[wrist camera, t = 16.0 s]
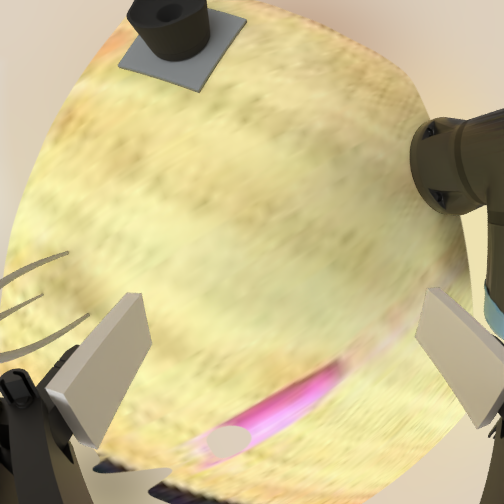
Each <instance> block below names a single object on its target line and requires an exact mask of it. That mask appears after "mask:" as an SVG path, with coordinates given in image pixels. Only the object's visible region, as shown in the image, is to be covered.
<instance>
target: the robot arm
mask: <svg viewBox="0 0 504 504" xmlns="http://www.w3.org/2000/svg"><path fill="white" fill-rule="evenodd" d="M410 165H411V171H412V175H413V179H414V182H415V184H416V187H417V189H418V191H419V193H420V194H421V196H422V197H423V199H424V200H425V201H426V202H427V204H428V205H429V206H430V207H432V208H433V209H434V210H436V211H437V212H439V213H442V214H446V215H464V214H467V213H469V212H471V211H473V210H475V209H477V208H479V207H482V206H483V205H487V213H488V256H487V257H488V258H487V274H486V279H485V284H484V289H485V301H484V315H485V319H486V321H487V323H488V324H489V326H490V328H491V329H492V330H493V331H494V333H495V334H497V335H498V336H499V337H500V338H502V339H503V340H504V109H500V110H497V111H494V112H491V113H488V114H485V115H481V116H479V117H476V118H472V119H469V120H461V119H455V118H447V117H440V118H435V119H433V120H430V121H428V122H426V123H424V124H423V125H421V126H420V127H419V129H418V130H417V131H416V133H415V135H414V137H413V140H412V143H411V149H410ZM415 338H416V340H417V341H418V342H419V344H420V345H421V346H422V348H423V349H424V350H425V352H426V353H427V355H428V356H429V357H430V359H431V360H432V362H433V363H434V364H435V366H436V367H437V369H438V370H439V372H440V373H441V374H442V376H443V377H444V379H445V380H446V382H447V383H448V385H449V386H450V388H451V389H452V391H453V392H454V394H455V395H456V397H457V398H458V400H459V401H460V403H461V405H462V406H463V408H464V409H465V411H466V412H467V414H468V416H469V417H470V419H471V420H472V422H473V424H474V425H475V427H476V429H479V428H482V427H483V426H486V425H488V424H490V423H491V421H492V420H493V419H494V417H495V416H496V414H497V413H499V414H500V416H501V418H500V419H499V420H498V422H497V423H496V425H495V426H494V427H493V429H492V430H491V431H490V433H489V435H488V437H489V438H490V437H491V435H492V434H493V433H494V432H495V431H496V434H495V436H494V437H493V439H495V441H494V447H493V453H492V458H491V463H490V467H489V472H488V476H487V480H486V484H485V488H484V491H483V495H482V498H481V501H480V504H504V344H503V343H502V342H501V341H500V340H499V339H498V338H497V337H496V336H494V335H492V334H490V333H489V332H488V331H487V330H486V329H485V328H484V327H483V326H482V325H481V324H480V323H479V322H478V321H477V320H476V319H475V318H473V317H472V316H471V315H470V314H469V313H468V312H467V311H466V310H465V309H464V308H462V307H461V306H460V305H459V304H458V303H457V302H456V301H455V300H453V299H452V298H451V297H450V296H449V295H448V294H446V293H445V292H444V291H443V290H442V289H441V288H439V287H436V288H427V291H426V295H425V300H424V304H423V308H422V312H421V316H420V320H419V324H418V327H417V331H416V334H415ZM151 345H152V340H151V336H150V331H149V327H148V322H147V318H146V313H145V308H144V303H143V298H142V293H126V294H125V295H124V296H123V297H122V299H121V300H120V301H119V302H118V303H117V304H116V305H115V306H114V307H113V308H112V309H111V311H110V312H109V313H108V314H107V315H106V316H105V317H104V318H103V319H102V321H101V322H100V323H99V324H98V325H97V326H96V327H95V329H94V330H93V331H92V332H91V333H90V334H89V335H88V337H87V338H86V339H85V340H84V341H83V342H82V344H81V345H75V346H73V347H72V348H70V349H69V350H67V351H66V352H65V353H64V354H63V355H62V357H61V358H60V359H59V361H57V362H56V364H55V365H54V367H52V368H51V369H50V371H49V372H48V373H47V374H46V375H45V377H44V378H43V379H42V380H41V381H40V383H39V384H38V385H37V386H36V387H35V385H34V383H33V381H32V379H31V378H30V376H29V374H28V372H27V371H25V370H24V369H20V368H18V369H12V370H9V371H7V372H6V373H4V374H3V375H2V376H1V377H0V392H1V393H2V395H3V396H4V398H0V504H93V501H92V499H91V496H90V494H89V492H88V489H87V486H86V484H85V481H84V479H83V476H82V473H81V470H80V467H79V464H78V461H77V458H76V455H75V452H74V449H73V446H72V444H71V442H70V441H69V440H70V438H71V436H72V435H74V436H75V437H76V439H77V440H78V442H79V443H80V444H82V445H85V446H88V447H91V448H94V449H97V450H98V448H99V446H100V444H101V442H102V440H103V437H104V435H105V433H106V431H107V429H108V427H109V425H110V423H111V421H112V419H113V417H114V415H115V413H116V411H117V409H118V407H119V406H120V404H121V402H122V400H123V398H124V396H125V394H126V392H127V390H128V388H129V386H130V384H131V382H132V381H133V379H134V377H135V375H136V373H137V371H138V369H139V367H140V366H141V364H142V362H143V360H144V358H145V356H146V354H147V353H148V351H149V349H150V347H151Z"/></svg>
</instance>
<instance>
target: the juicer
mask: <svg viewBox="0 0 504 504" xmlns="http://www.w3.org/2000/svg"><path fill="white" fill-rule="evenodd" d="M68 254H69V252H68V251H66V252H63V253H59V254H56V255H53V256H50V257H47V258H44V259H41V260H39V261H36V262H34V263H31V264H29V265H27V266H25V267H22V268H20V269H18V270H16V271H15V272H13V273H11V274H9V275H7V276H6V277H4V278H2V279H1V280H0V289H1V288H2V287H4V286H5V285H7V284H8V283H10V282H11V281H13V280H14V279H16V278H18V277H19V276H21V275H23V274H25V273H27V272H28V271H30V270H32V269H34V268H36V267H39V266H41V265H43V264H45V263H48V262H50V261H52V260H55V259H57V258H60V257H62V256H65V255H68ZM43 295H44V294H41V295H39V296H36V297H34V298H32V299H30V300H28V301H26V302H23V303H21V304H19V305H17V306H15V307H13V308H10V309H8V310H6V311H4V312H2V313H0V320H2V319H4V318H5V317H7V316H8V315H10V314H12V313H13V312H15V311H17V310H18V309H20V308H22V307H23V306H25V305H27V304H29V303H30V302H32V301H34V300H36V299H38V298H39V297H41V296H43ZM89 316H90V315H89V313H87V314H85V315H84V316H82V317H81V318H79V319H78V320H76V321H74V322H73V323H71V324H69V325H68V326H66V327H65V328H63V329H61V330H59V331H58V332H56V333H54V334H52V335H50V336H48V337H46V338H44V339H42V340H40V341H38V342H36V343H33V344H31V345H28V346H26V347H23V348H20V349H16V350H13V351H8V352H4V353H0V363H4V362H7V361H10V360H14V359H16V358H19V357H21V356H24V355H26V354H29V353H31V352H33V351H35V350H37V349H39V348H41V347H43V346H45V345H47V344H49V343H51V342H52V341H54V340H56V339H57V338H59V337H61V336H62V335H64V334H65V333H67V332H68V331H70V330H71V329H73V328H74V327H75V326H77V325H78V324H80V323H81V322H82V321H84V320H85V319H86V318H88V317H89Z"/></svg>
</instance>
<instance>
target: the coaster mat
mask: <svg viewBox="0 0 504 504" xmlns="http://www.w3.org/2000/svg"><path fill="white" fill-rule="evenodd" d="M207 9H208V8H207ZM208 16H209V25H210V38H209V41H208V43H207V45H206V46H205V47H204V48H203V49H202V50H201V51H200V52H199V53H198V54H196V55H194V56H192V57H190V58H188V59H185V60H181V61H166V60H163V59H160V58H158V57H157V56H156V55H155V54H154V53H153V52H152V51H151V49H150V48H149V47H148V46H147V44H146V43H145V42H144V40H143V39H142V38H141V36H140V35H138V37H137V38H136V39H135V41H134V42H133V44H132V45H131V46H130V48H129V49H128V51H127V52H126V54H125V55H124V57H123V58H122V60H121V61H120V63H119V64H118V67H119V68H122V69H126V70H130V71H133V72H137V73H140V74H144V75H147V76H150V77H154V78H157V79H160V80H163V81H166V82H169V83H172V84H175V85H178V86H181V87H184V88H187V89H190V90H192V91H195V92H198V93H200V91H201V89H202V88H203V86H204V84H205V83H206V81H207V79H208V78H209V76H210V75H211V73H212V72H213V70H214V68H215V67H216V65H217V64H218V62H219V61H220V59H221V58H222V56H223V55H224V53H225V52H226V50H227V49H228V47H229V46H230V45H231V43H232V42H233V40H234V39H235V37H236V36H237V35H238V33H239V32H240V31H241V29H242V28H243V26H244V25H245V24H246V22H247V19H244V18H241V17H237V16H234V15H231V14H227V13H224V12H220V11H216V10H212V9H208Z"/></svg>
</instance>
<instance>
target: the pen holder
mask: <svg viewBox="0 0 504 504" xmlns="http://www.w3.org/2000/svg"><path fill="white" fill-rule="evenodd" d="M127 19H128V21H129V22H130V23H131V25H132V26H133V27H134V29H135V30H136V31H137V33H138V34H139V35H140V36H141V38H142V39H143V40H144V42H145V43H146V44H147V46H148V47H149V48H150V49H151V51H152V52H153V53H154V54H155V55H156V56H157V57H158V58H160V59H163V60H166V61H181V60H185V59H188V58H190V57H192V56H194V55H196V54H198V53H199V52H200V51H201V50H202V49H203V48H204V47H205V46H206V45H207V43H208V41H209V38H210V25H209V16H208V9H207V1H206V0H134V2H133V4H132V6H131V7H130V9H129V11H128V13H127Z"/></svg>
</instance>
